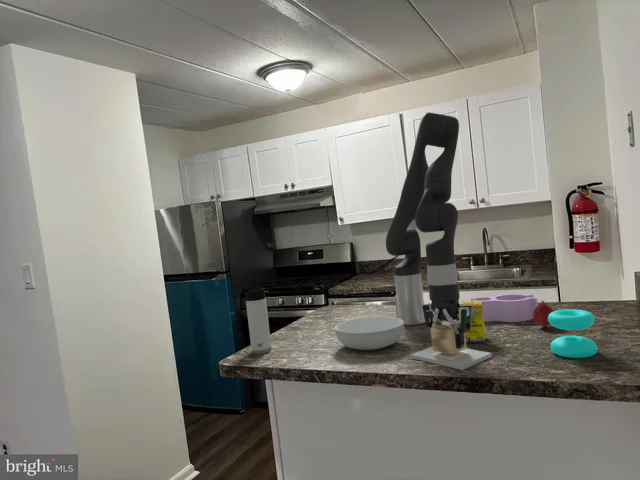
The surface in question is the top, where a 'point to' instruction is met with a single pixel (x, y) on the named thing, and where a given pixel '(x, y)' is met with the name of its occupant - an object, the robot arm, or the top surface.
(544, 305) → the onion
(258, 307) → the travel mug
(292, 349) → the top surface
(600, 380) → the top surface
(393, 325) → the serving bowl
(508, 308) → the purple cup holder
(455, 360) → the board
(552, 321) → the donuts
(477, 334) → the supplement box
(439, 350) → the block
